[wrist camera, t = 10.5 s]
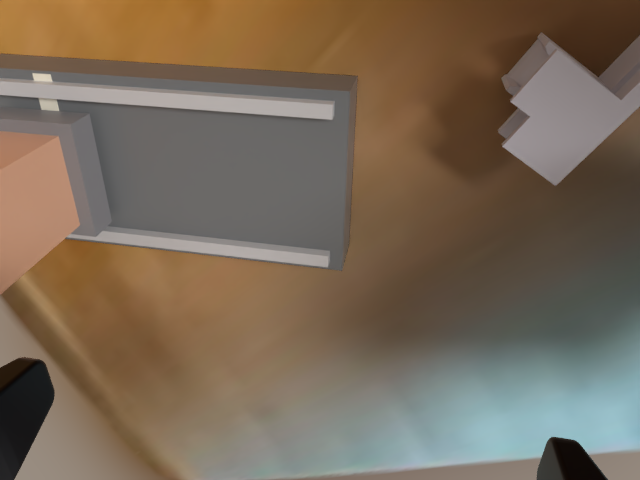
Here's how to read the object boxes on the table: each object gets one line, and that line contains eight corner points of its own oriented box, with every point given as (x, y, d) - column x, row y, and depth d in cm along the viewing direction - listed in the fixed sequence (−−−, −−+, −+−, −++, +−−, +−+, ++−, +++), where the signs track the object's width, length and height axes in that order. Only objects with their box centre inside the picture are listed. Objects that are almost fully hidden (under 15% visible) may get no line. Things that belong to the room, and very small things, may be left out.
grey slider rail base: (357, 75, 19) (348, 95, 17) (349, 244, 23) (340, 276, 21) (-130, 45, 22) (-187, 58, 20) (-69, 198, 26) (-112, 223, 24)
